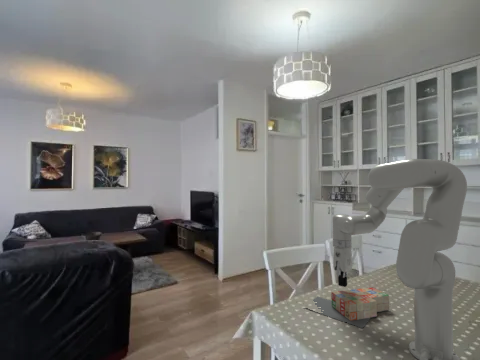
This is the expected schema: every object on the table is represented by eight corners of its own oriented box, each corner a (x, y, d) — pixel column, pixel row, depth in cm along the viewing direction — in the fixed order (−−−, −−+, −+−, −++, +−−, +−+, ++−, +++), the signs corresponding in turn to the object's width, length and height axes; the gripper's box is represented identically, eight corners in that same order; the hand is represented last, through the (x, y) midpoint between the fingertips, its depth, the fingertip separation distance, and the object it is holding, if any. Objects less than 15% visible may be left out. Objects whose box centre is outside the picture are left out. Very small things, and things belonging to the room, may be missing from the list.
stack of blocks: (372, 286, 118) (395, 298, 106) (373, 300, 118) (395, 313, 106) (331, 291, 112) (350, 304, 100) (331, 306, 112) (350, 321, 100)
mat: (362, 328, 96) (362, 327, 96) (303, 308, 112) (303, 307, 112) (373, 313, 106) (373, 313, 106) (317, 297, 122) (317, 296, 122)
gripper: (344, 247, 106) (345, 293, 105) (356, 241, 117) (357, 282, 117) (326, 245, 111) (327, 288, 110) (339, 239, 122) (340, 279, 122)
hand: (342, 285), depth 114 cm, fingers closed
